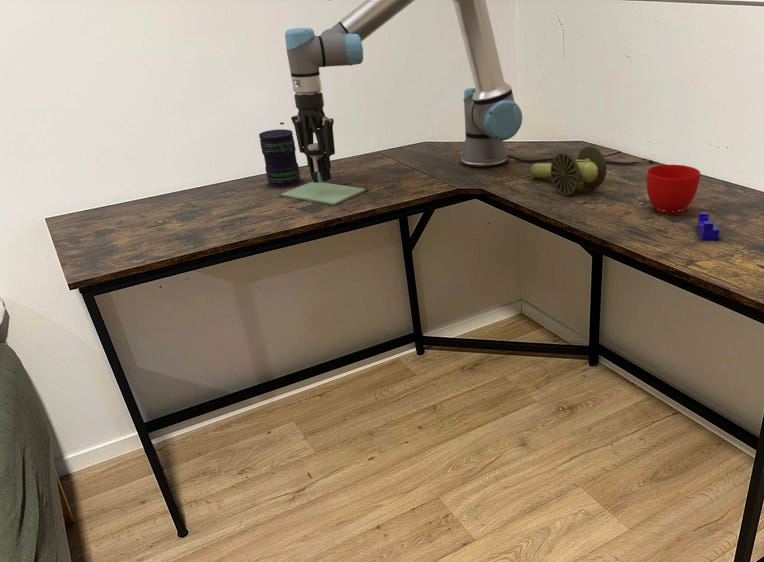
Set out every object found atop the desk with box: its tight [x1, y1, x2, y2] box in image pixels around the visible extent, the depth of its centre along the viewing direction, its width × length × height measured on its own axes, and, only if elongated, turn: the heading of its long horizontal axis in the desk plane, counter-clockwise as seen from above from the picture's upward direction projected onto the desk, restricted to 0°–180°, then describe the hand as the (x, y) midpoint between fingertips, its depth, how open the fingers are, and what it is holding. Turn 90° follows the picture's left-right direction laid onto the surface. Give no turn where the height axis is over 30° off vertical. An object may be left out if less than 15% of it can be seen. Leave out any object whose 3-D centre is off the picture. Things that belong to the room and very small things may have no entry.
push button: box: [305, 142, 324, 183], centre depth 190 cm, size 7×5×10 cm
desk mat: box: [280, 180, 366, 206], centre depth 196 cm, size 20×14×1 cm
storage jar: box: [258, 122, 302, 189], centre depth 202 cm, size 10×10×18 cm
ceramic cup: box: [646, 164, 701, 215], centre depth 173 cm, size 13×17×10 cm
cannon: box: [530, 145, 607, 196], centre depth 192 cm, size 25×12×11 cm, turn 37°
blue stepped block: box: [696, 211, 720, 241], centre depth 158 cm, size 8×4×4 cm, turn 173°
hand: (321, 179), depth 193 cm, fingers closed on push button, 3 cm apart
